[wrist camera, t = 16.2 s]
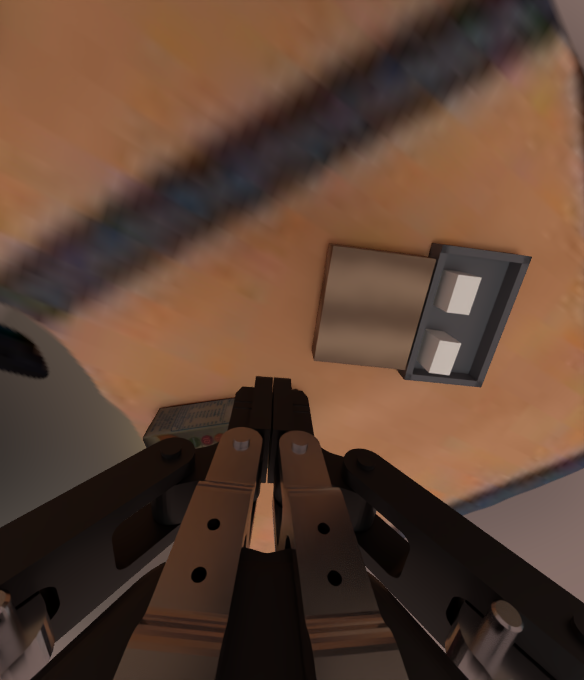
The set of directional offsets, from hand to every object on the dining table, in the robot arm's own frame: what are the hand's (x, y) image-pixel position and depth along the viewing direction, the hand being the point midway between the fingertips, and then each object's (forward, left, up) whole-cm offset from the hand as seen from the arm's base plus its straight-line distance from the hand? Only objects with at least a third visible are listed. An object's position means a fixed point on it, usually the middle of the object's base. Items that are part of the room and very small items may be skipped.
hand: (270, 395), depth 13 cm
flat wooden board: (+1, +11, -24) cm, 27 cm away
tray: (+1, +22, -24) cm, 33 cm away
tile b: (+5, +18, -22) cm, 29 cm away
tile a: (-2, +18, -22) cm, 28 cm away
